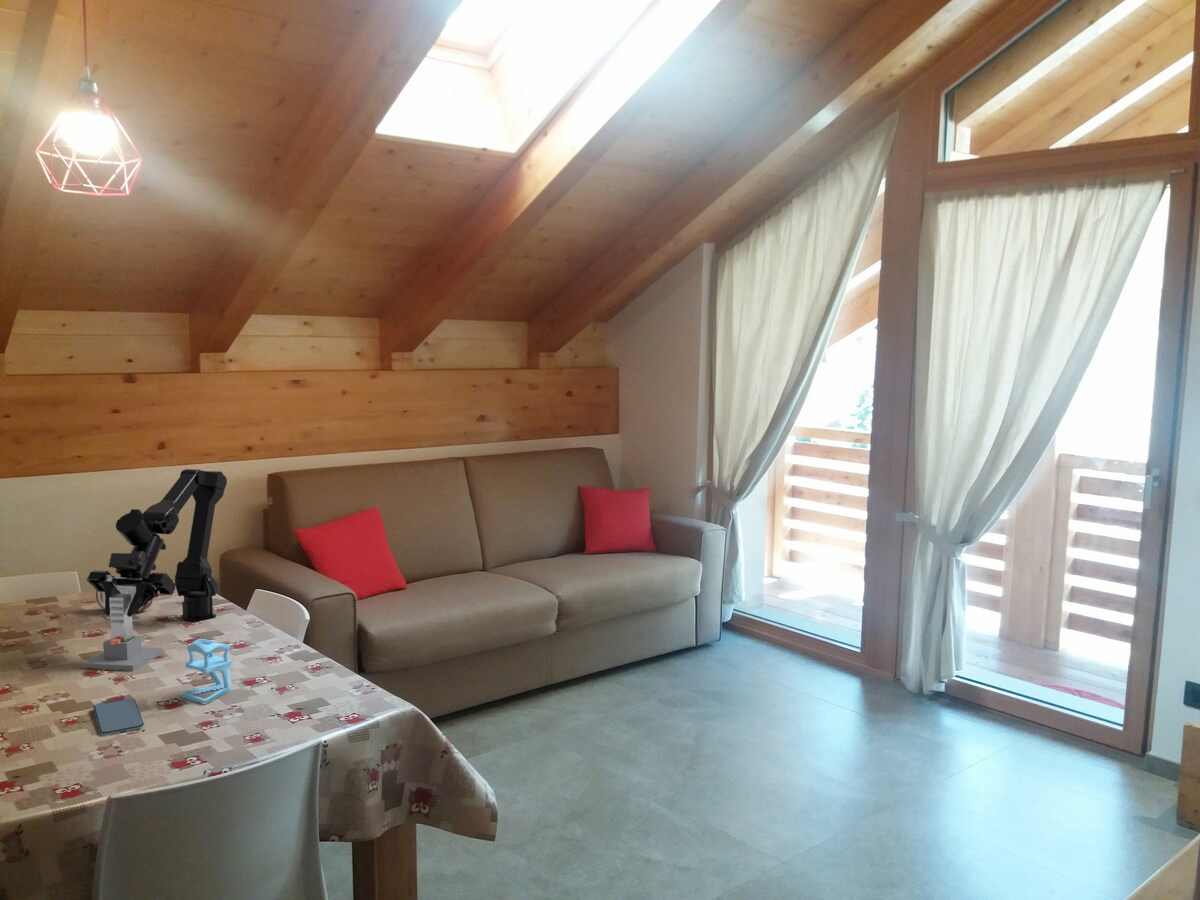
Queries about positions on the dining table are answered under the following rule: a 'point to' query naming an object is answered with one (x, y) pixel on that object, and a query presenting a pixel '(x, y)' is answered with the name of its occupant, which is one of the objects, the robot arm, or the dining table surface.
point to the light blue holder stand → (209, 668)
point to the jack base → (122, 655)
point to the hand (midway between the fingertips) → (117, 615)
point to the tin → (124, 590)
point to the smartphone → (118, 716)
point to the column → (121, 617)
